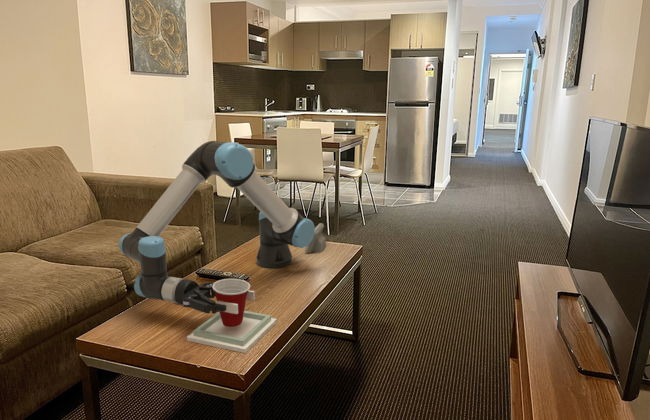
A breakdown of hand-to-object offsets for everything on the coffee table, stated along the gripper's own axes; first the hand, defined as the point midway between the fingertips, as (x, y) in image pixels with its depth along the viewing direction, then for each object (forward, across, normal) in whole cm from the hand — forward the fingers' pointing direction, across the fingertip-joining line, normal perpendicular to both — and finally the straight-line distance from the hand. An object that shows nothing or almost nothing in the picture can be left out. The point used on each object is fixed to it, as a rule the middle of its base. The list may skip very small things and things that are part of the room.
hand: (246, 302), depth 132 cm
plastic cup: (-5, 0, -7) cm, 9 cm away
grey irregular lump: (-11, -81, -10) cm, 82 cm away
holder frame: (-25, -18, -10) cm, 32 cm away
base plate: (-5, 0, -10) cm, 11 cm away
